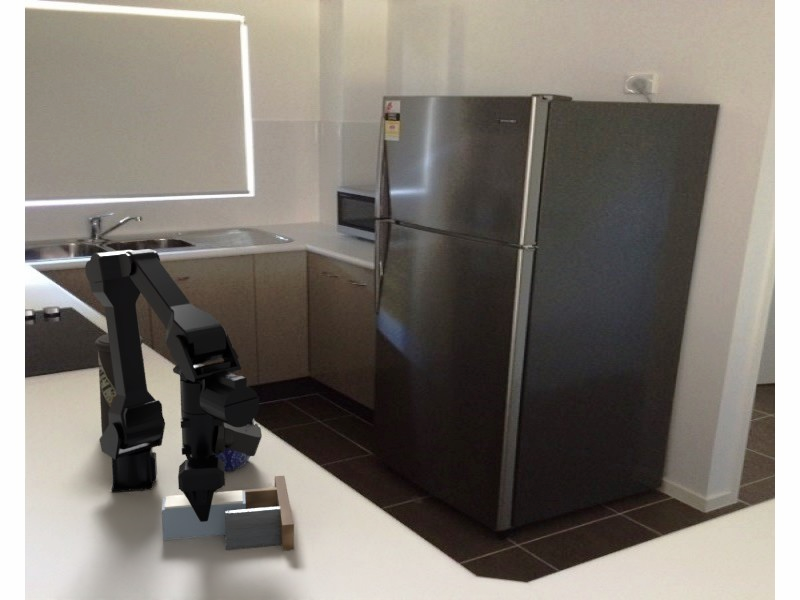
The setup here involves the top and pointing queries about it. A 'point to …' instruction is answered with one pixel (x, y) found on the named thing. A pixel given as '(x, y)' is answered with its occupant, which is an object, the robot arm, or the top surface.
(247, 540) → the bookend
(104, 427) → the container
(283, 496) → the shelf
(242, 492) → the book
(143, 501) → the top surface
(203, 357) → the robot arm
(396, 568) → the top surface
